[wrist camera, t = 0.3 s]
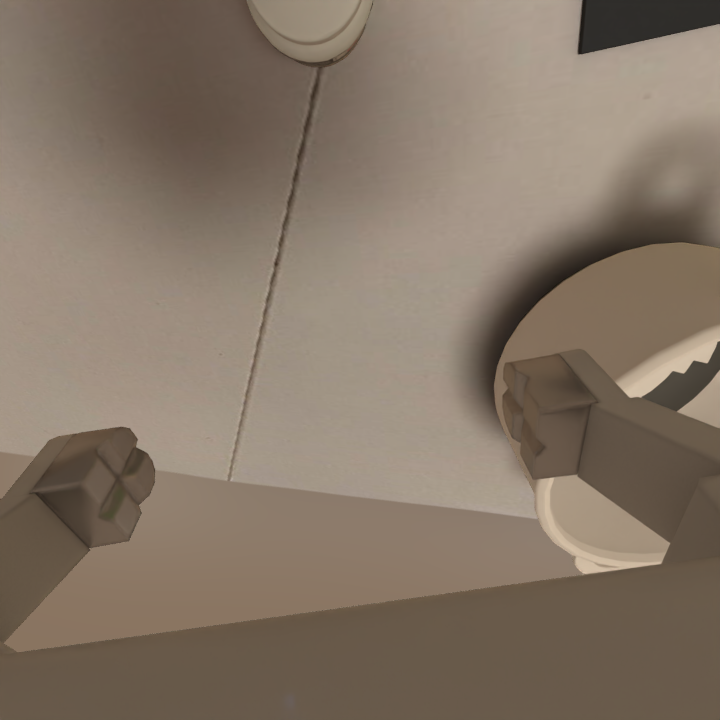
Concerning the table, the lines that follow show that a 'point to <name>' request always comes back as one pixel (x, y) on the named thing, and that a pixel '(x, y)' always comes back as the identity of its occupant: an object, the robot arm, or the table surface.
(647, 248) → the pot
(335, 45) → the pill bottle
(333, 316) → the table surface
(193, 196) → the table surface
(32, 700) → the robot arm
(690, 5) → the slate mat
